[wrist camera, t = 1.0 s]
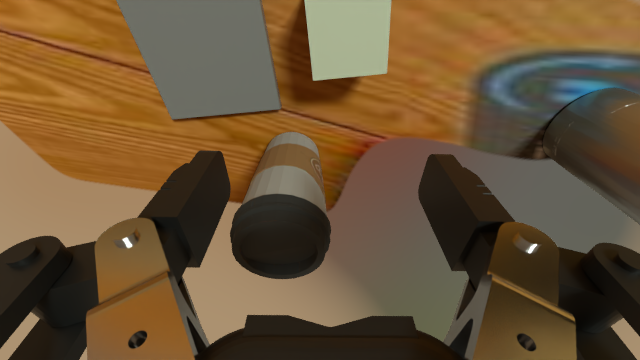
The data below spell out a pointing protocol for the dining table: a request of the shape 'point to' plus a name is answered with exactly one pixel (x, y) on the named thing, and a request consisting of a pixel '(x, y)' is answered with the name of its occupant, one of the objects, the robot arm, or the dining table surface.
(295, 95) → the dining table surface
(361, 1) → the sage block
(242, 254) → the coffee cup
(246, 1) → the slate board
